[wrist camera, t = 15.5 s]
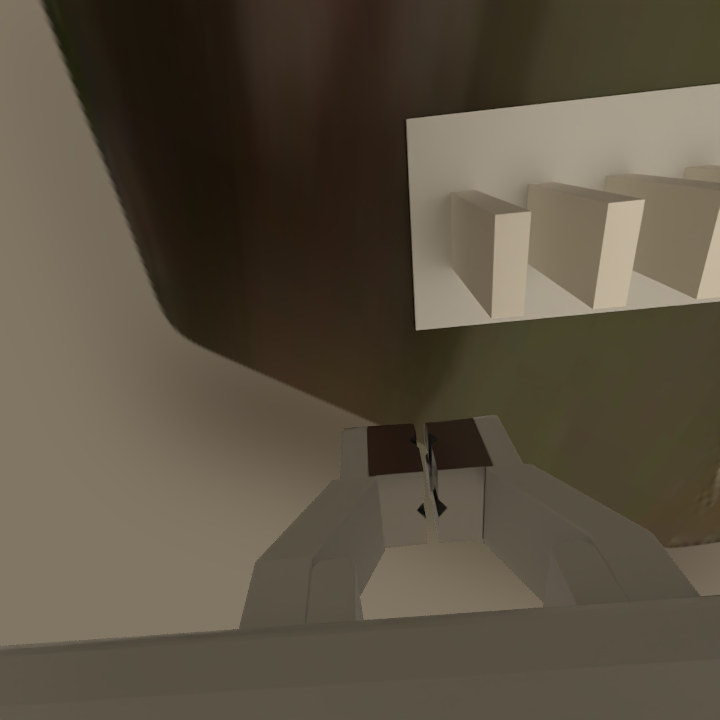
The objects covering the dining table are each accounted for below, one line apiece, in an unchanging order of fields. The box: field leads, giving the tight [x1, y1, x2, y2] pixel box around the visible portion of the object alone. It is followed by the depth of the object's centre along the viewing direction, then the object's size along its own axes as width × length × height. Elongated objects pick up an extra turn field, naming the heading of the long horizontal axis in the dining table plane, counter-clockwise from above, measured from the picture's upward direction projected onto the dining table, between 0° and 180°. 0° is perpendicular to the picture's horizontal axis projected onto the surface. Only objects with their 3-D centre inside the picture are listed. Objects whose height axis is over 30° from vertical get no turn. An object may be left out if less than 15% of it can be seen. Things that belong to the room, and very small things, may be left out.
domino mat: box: [406, 84, 720, 330], centre depth 29 cm, size 29×14×1 cm, turn 96°
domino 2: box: [527, 182, 645, 309], centre depth 25 cm, size 2×5×10 cm, turn 6°
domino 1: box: [451, 190, 531, 319], centre depth 25 cm, size 2×5×10 cm, turn 6°
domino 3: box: [604, 173, 720, 299], centre depth 25 cm, size 2×5×10 cm, turn 6°
